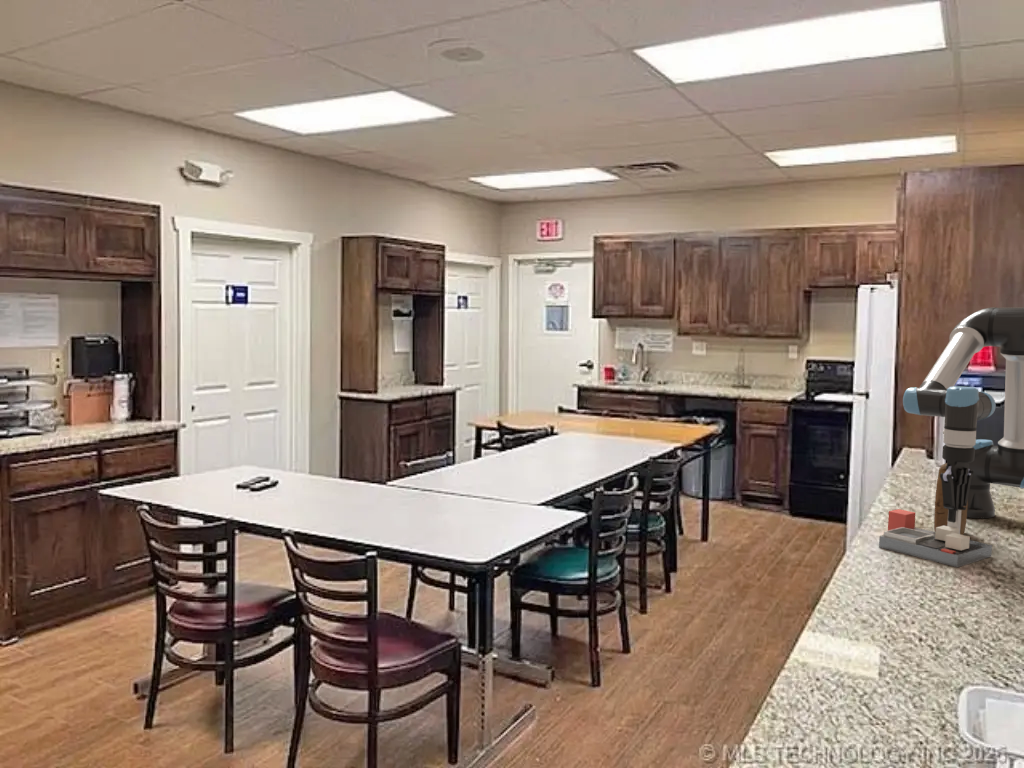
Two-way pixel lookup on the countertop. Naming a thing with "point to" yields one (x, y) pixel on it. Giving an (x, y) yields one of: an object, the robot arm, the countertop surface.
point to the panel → (932, 547)
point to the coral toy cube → (901, 519)
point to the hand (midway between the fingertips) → (953, 533)
